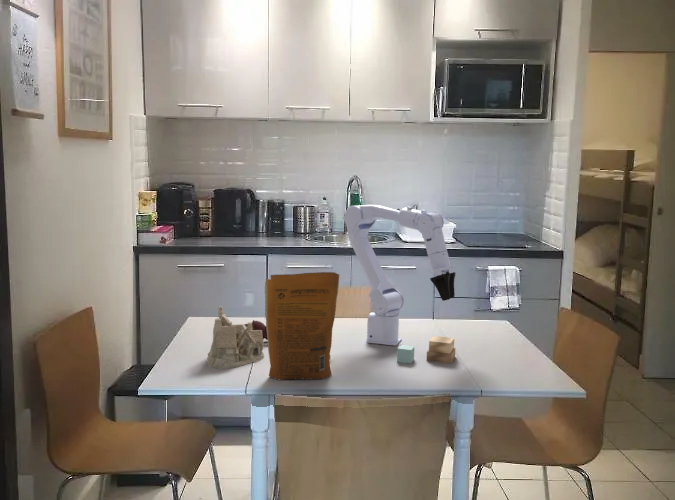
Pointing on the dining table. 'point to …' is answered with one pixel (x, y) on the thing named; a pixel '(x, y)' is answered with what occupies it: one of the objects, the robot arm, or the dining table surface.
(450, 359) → the tower base
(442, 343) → the tower top
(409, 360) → the teal cube
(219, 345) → the ceramic cottage
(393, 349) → the dining table surface
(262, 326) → the icecream
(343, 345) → the dining table surface
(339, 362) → the dining table surface
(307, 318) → the pancake mix bag
